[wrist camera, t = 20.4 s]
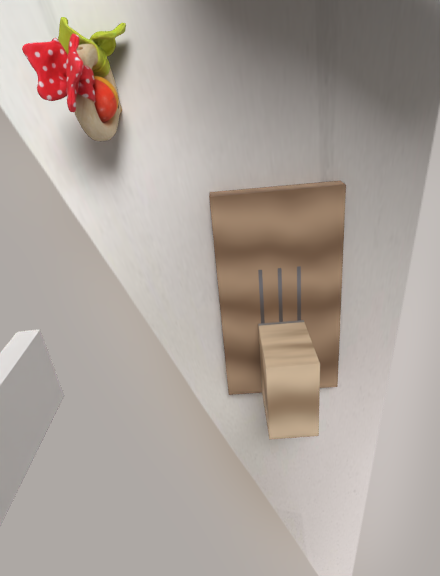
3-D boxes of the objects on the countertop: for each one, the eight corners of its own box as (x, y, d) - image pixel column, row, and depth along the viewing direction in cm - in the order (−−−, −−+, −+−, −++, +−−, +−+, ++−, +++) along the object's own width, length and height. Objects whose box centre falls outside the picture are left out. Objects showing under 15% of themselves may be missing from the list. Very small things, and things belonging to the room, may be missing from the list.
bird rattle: (150, 99, 40) (117, -11, 34) (146, 164, 33) (103, 40, 26) (88, 112, 41) (43, 6, 34) (70, 179, 34) (8, 61, 27)
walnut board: (209, 192, 42) (209, 197, 40) (340, 180, 42) (345, 184, 40) (228, 384, 52) (228, 394, 51) (333, 376, 52) (337, 386, 50)
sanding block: (258, 323, 46) (266, 367, 39) (303, 320, 46) (320, 363, 39) (261, 388, 50) (269, 439, 43) (303, 385, 50) (318, 435, 43)
